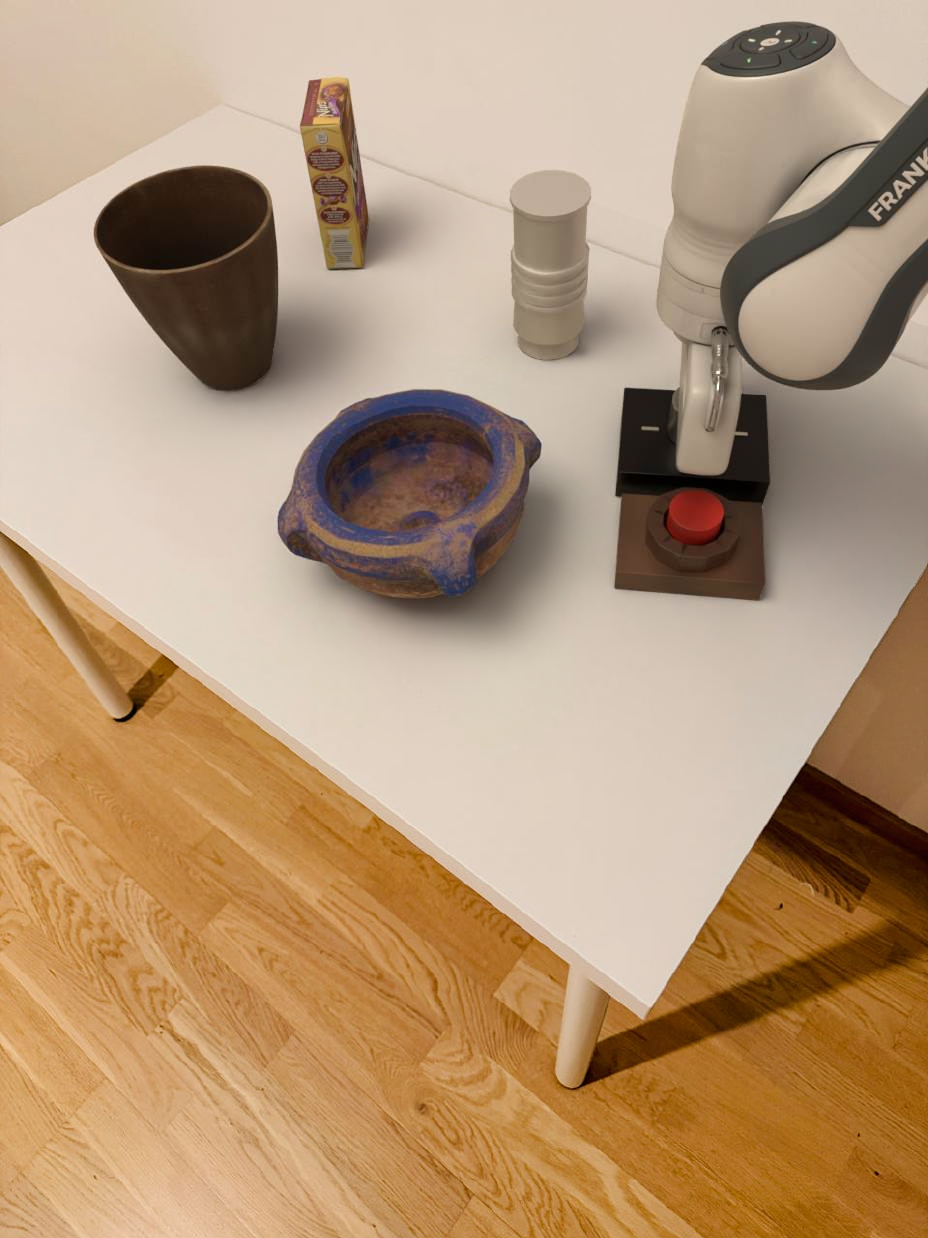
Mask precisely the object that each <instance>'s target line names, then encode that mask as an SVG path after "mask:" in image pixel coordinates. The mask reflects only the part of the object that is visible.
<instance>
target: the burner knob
mask: <svg viewBox="0 0 928 1238" xmlns="http://www.w3.org/2000/svg"><path fill="white" fill-rule="evenodd" d="M679 389H680V386H678V387H677V388H676V389H675V390H676V391H675V392H674V394H673V397H672V403H671V409H670V415H669V421H668V427H667V433H668V436H669V438H670V440H671V441H672V442H673V443H674V444H675V445H676V444H677V426H678V407H679Z"/></svg>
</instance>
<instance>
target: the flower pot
mask: <svg viewBox="0 0 928 1238" xmlns="http://www.w3.org/2000/svg"><path fill="white" fill-rule="evenodd" d="M276 232H277V231H276V223H275V215H274V208H273V200H272V196H271V194H270V190H269V189H268V188H267V187H266V186H265V184H264V183H263V182H262V181H261V180H260V179H258V178H256V177H255V176H253V175H252V174H250V173H248V172H245V171H242V170H240V169H237V168H233V167H228V166H222V165H209V164H207V165H189V166H182V167H178V168H172V169H168V170H165V171H161V172H158V173H155V174H152V175H149V176H147V177H145V178H143V179H140V180H138V181H136V182H134V183H133V184H130V185H129V186H127V187H126V188H124V189H123V190H121V191H120V192H118V193H117V194H116V195H114V196H113V197H112V198H111V199H110V200H109V201H108V202H107V203H106V204H105V205H104V206H103V208H102V209H101V210H100V212H99V214H98V216H97V217H96V220H95V223H94V225H93V241H94V244H95V246H96V248H97V250H98V251H99V253H100V255H101V256H102V258H103V259H104V261H105V263H106V264H107V266H108V267H109V269H110V271H111V272H112V273H113V275H114V277H115V279H116V280H117V282H118V283H119V285H120V286H121V288H122V289H123V292H125V294H126V295H127V298H129V300H130V301H131V302H132V304H133V305H134V306H135V309H137V311H138V313H140V315H141V316H142V317H143V319H144V321H146V323H147V324H148V325H149V327H150V328H151V329H152V330H153V332H154V333H155V334H156V335H157V336H158V338H159V339H160V340H161V341H162V342H163V343H164V345H165V346H166V347H167V349H169V350H170V351H171V352H172V354H173V355H174V356H175V357H176V358H177V359H178V361H180V362H181V363H182V364H183V365H184V366H185V367H186V368H187V369H188V370H189V372H191V373H192V375H194V376H195V378H197V379H198V380H199V381H200V382H201V383H202V384H203V385H205V386H206V387H208V388H210V389H214V390H216V391H217V390H218V391H225V392H227V391H237V390H241V389H242V390H243V389H245V388H247V387H250V386H253V385H254V384H256V383H257V382H259V381H260V380H262V379H263V378H264V376H266V374H267V373H268V372H269V370H270V368H271V367H272V364H273V358H274V351H275V345H276V339H277V330H278V329H277V328H278V315H279V256H278V255H279V254H278V242H277V233H276Z"/></svg>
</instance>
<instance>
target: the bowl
mask: <svg viewBox="0 0 928 1238" xmlns="http://www.w3.org/2000/svg"><path fill="white" fill-rule="evenodd" d="M541 453H542V442H541V440H540V439H539V437H538V436H537V435H536V433H535V432H534V431H533V430H532V429H531V427H529V426H528V424H526V423H525V422H524V420H521V419H518V418H515V417H512V416H511V415H509V414H507V413H505V412H504V411H502V410H500V409H498V408H496V407H494V406H492V405H490V404H487V403H485V402H484V401H482V400H479V399H477V398H475V397H473V396H471V395H468V394H464V393H461V392H455V391H451V390H447V389H437V388H433V389H432V388H412V389H406V390H402V391H397V392H392V393H386V394H382V395H379V396H375V397H366V398H364V399H362V400H359V401H356V402H354V403H352V404H350V405H349V406H347V407H345V408H343V409H342V410H340V411H339V412H338V413H337V415H336V416H335V418H334V419H333V420H332V421H330V422H329V423H327V425H326V426H325V427H324V428H322V429H321V430H320V431H318V433H317V434H316V435H315V436H314V437H313V439H312V440H311V442H309V444H308V445H307V446H306V447H305V449H304V450H303V452H302V454H301V456H300V458H299V460H298V462H297V464H296V467H295V469H294V474H293V479H292V483H291V489H290V490H289V493H288V495H287V497H286V499H285V501H284V502H283V503H282V505H281V507H280V508H279V510H278V514H277V534H278V536H279V537H280V540H281V542H282V543H283V544H284V546H285V547H286V548H287V549H288V551H289V552H290V553H292V554H293V555H294V556H297V557H301V558H304V559H306V560H309V561H310V560H311V561H314V562H317V563H322V564H325V565H327V566H328V567H329V568H330V569H331V570H332V571H333V572H334V573H335V574H336V575H337V576H339V577H340V578H342V579H343V580H345V581H347V582H348V583H350V584H352V585H353V586H355V587H357V588H359V589H362V590H365V591H368V592H371V593H374V594H377V595H380V596H385V597H392V598H398V599H427V598H434V597H437V596H438V597H439V596H442V595H445V596H448V597H450V598H454V597H460V596H463V595H465V594H466V593H468V592H469V591H470V590H471V589H472V588H473V587H474V586H475V585H476V583H477V582H478V579H479V578H481V577H482V576H484V575H485V574H486V573H487V572H488V571H489V570H491V569H492V567H493V566H494V565H495V564H496V563H497V562H498V561H499V560H500V559H501V558H502V557H503V555H504V554H505V553H506V552H507V551H508V549H509V547H510V546H511V544H512V543H513V540H514V538H515V537H516V534H517V532H518V530H519V527H520V524H521V520H522V518H523V514H524V511H525V500H526V496H527V493H528V490H529V486H530V470H531V469H532V467H533V466H534V465H535V463H536V462H537V461H538V460H539V459H540V458H541Z"/></svg>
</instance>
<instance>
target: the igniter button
mask: <svg viewBox="0 0 928 1238" xmlns="http://www.w3.org/2000/svg"><path fill="white" fill-rule="evenodd" d="M723 516H724V509H723V506H722V504H721V502H720V501H719V500H718V499H717V498H716V497H715V496H713V495H712V494H710V493H708V492H705V491H700V490H689V491H685V492H682V493H680V494H678V495H677V496H675V497H674V498H673V500H672V501H671V503H670V506H669V512H668V517H667V528H668V530H669V532H670V534H671V535H672V536H673V537H674V538H675V539H677V540H678V541H680V542H682V543H685V544H689V545H702V544H706V543H708V542H710V541H712V540H713V539H714V538H715V537H716V536H717V535H718V533H719V531H720V527H721V523H722V520H723Z"/></svg>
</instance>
